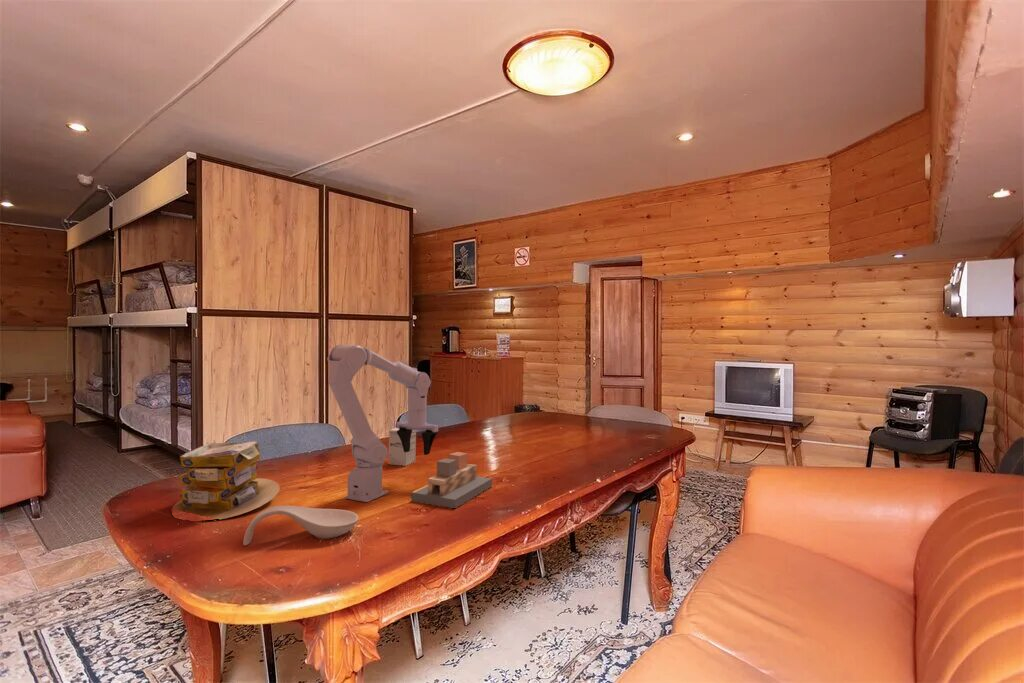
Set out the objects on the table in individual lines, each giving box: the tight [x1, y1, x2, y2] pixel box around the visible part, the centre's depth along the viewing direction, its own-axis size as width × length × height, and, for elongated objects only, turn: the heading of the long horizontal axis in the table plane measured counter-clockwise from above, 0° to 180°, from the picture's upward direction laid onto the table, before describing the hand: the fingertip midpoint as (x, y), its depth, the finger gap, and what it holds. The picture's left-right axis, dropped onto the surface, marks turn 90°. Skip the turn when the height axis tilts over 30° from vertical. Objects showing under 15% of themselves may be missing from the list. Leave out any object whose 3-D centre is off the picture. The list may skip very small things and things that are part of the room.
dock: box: [410, 476, 493, 509], centre depth 139 cm, size 22×14×3 cm, turn 156°
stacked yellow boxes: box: [171, 441, 281, 520], centre depth 128 cm, size 25×25×17 cm
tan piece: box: [427, 463, 478, 496], centre depth 139 cm, size 19×5×4 cm, turn 156°
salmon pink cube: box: [448, 451, 468, 469], centre depth 144 cm, size 4×4×4 cm
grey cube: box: [436, 458, 456, 477], centre depth 136 cm, size 4×4×4 cm
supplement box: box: [388, 427, 417, 467], centre depth 174 cm, size 7×7×13 cm
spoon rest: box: [242, 505, 359, 546], centre depth 108 cm, size 24×12×7 cm, turn 110°
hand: (416, 453), depth 150 cm, fingers open, 7 cm apart
